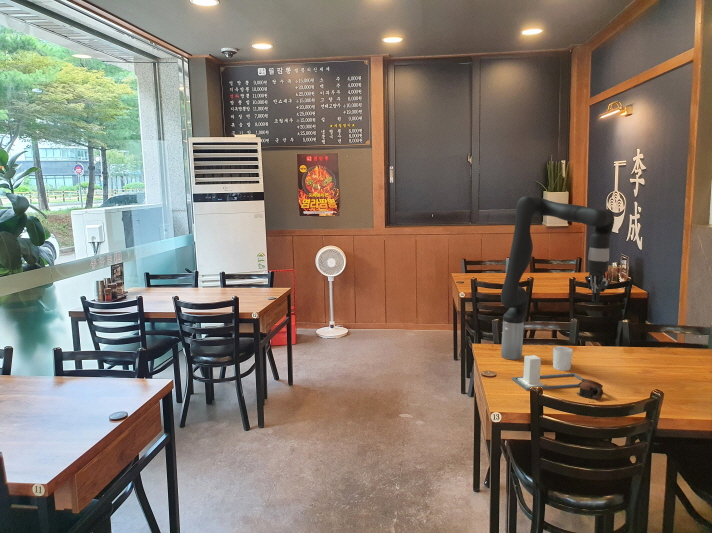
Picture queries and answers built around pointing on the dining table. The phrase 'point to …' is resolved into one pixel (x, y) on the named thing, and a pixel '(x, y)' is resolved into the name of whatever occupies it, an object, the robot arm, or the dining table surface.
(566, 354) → the white cup
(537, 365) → the slider post
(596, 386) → the dark brown lump
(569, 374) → the grey rectangular frame
